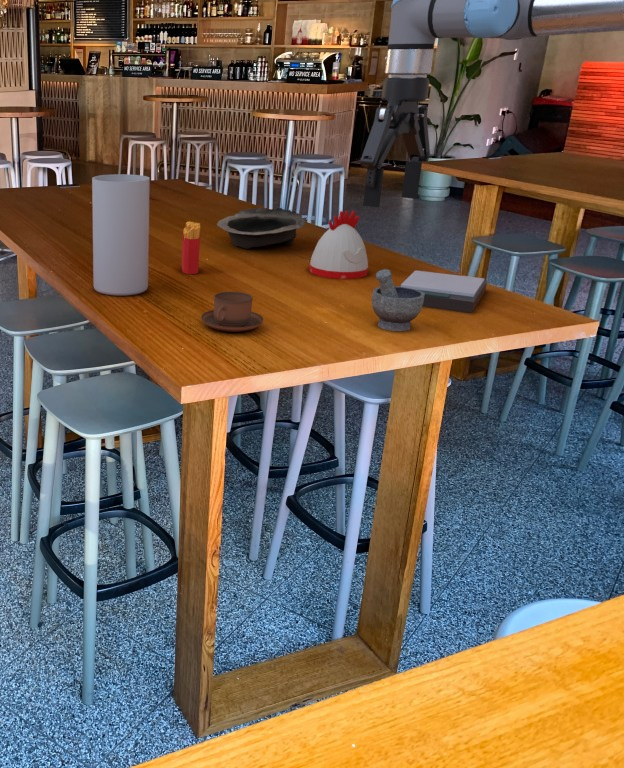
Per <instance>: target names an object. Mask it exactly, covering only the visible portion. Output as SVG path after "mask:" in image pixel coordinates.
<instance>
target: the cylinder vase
mask: <svg viewBox="0 0 624 768" xmlns="http://www.w3.org/2000/svg"><path fill="white" fill-rule="evenodd" d="M91 179H92V180H91V181H92V183H91V188H92V190H91V191H92V192H91V193H92V194H91V195H92V196H91V197H92V201H91V202H92V271H93V272H92V273H93V274H92V275H93V276H92V277H93V279H92V280H93V289H94V290H95V291H96V292H97V293H100V294H102V295H106V296H112V297H114V296H115V297H126V296H127V297H128V296H136V295H141V294H142V293H144V292H146V291H147V290H148V288H149V255H150V253H149V252H150V251H149V250H150V249H149V246H150V240H149V239H150V180H151V179H150V177H149V176H147V175H140V174H126V173H125V174H122V173H121V174H120V173H119V174H118V173H117V174H102V175H101V174H100V175H96V176H93V177H92V178H91Z"/></svg>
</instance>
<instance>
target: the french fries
mask: <svg viewBox="0 0 624 768" xmlns="http://www.w3.org/2000/svg"><path fill="white" fill-rule="evenodd" d="M182 232H183V233H182V236H181V237H182V240H181V243H182V244H181V247H182V248H181V271H182V273H183V274H186V275H196V274H199V267H200V266H199V265H200V250H201V249H200V248H201V236H200V233H201V223H200V222H199V223H198V222H196V221H195V222H194V221H190V220H188V221H187V222H185V227H184V228H183V231H182Z"/></svg>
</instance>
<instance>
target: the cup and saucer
mask: <svg viewBox="0 0 624 768" xmlns="http://www.w3.org/2000/svg"><path fill="white" fill-rule="evenodd" d="M252 308H253V296H252V295H251V294H249V293H246V292H240V291H222V292H221V291H220V292H218V293H216V294H214V296H213V309H212V310H207V311H205V312H203V314H201V317H200V318H201V321H202V322H203V323H204V324H205V326H207V327H209V328H211V329H214V330H218V331H222V332H231V333H232V332H233V333H235V332H237V333H239V332H247V331H251V330H254V329H257V328H258V327H260V326H261V325H262V324H263V322H264V317H263V316H262V315H261V314H259V313H258V312H253V311H252Z"/></svg>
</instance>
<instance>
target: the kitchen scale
mask: <svg viewBox="0 0 624 768" xmlns="http://www.w3.org/2000/svg"><path fill="white" fill-rule="evenodd" d="M487 284H488V280H485V278H483V277H476V276H467V275H457V274H448V273H441V272H433V271H425V270H414V271H413V272H412V273H411V274H410V275H409V276H408V277H407V278H406V279H405V280H404V281H403V282H402V283H401V284H400V285H399V286H401V287H407V288H412V289H417V290H419V291H421V292H424V293H425V295H424V301H423V305H422V307H424V308H431V309H432V308H433V309H437V310H447V311H453V312H461V313H466V314H467V313H469V314H472V313H473V312H474V310H475V308H476V307H477V305H478V304H479V302H480V300H481V299H482V297H483V295H484V294H485V293H486V290H487Z"/></svg>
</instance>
